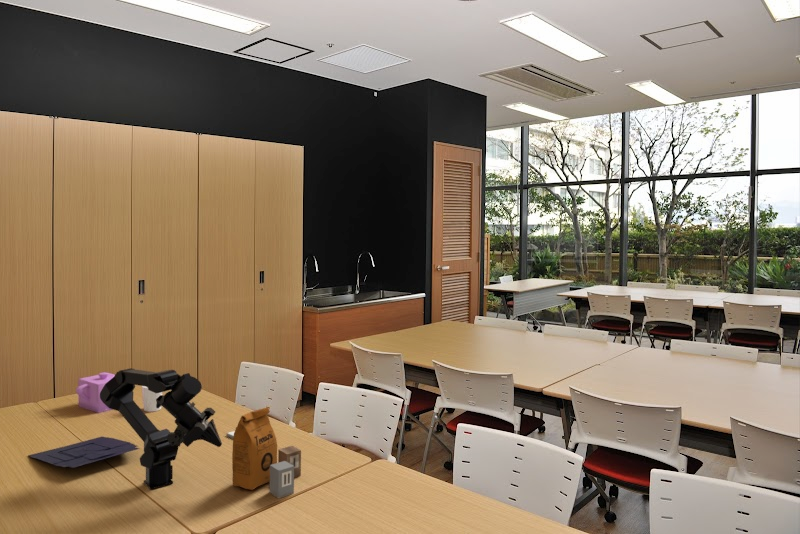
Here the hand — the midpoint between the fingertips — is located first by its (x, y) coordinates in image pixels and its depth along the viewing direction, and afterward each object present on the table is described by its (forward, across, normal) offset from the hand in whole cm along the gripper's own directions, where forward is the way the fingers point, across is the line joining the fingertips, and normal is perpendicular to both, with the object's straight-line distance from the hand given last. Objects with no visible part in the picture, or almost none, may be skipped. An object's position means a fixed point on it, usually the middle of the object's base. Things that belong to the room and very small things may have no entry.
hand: (220, 445), depth 170 cm
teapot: (-34, -84, -51) cm, 104 cm away
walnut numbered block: (+23, -8, +5) cm, 24 cm away
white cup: (-20, -77, -37) cm, 88 cm away
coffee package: (+16, -3, -2) cm, 16 cm away
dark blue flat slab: (-24, -27, -42) cm, 55 cm away
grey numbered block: (+22, +4, +4) cm, 22 cm away
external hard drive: (+11, -45, -8) cm, 47 cm away
